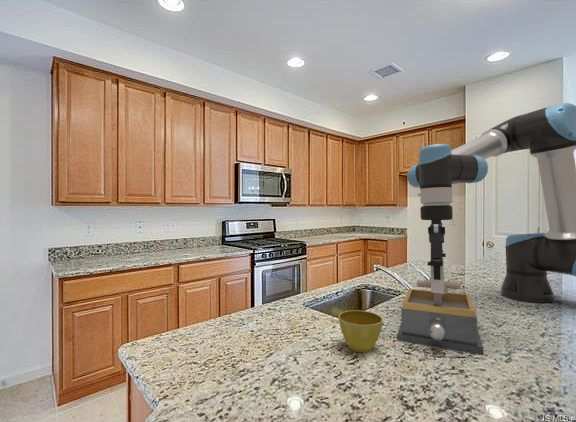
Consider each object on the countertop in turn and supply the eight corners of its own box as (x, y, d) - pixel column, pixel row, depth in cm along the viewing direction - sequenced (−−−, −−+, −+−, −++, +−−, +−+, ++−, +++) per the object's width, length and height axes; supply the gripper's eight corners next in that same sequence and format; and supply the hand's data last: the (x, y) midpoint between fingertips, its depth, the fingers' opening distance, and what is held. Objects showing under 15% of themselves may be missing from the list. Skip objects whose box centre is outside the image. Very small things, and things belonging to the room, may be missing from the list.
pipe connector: (466, 312, 73) (466, 271, 72) (421, 309, 75) (422, 269, 74) (452, 298, 82) (452, 262, 82) (413, 296, 84) (413, 261, 84)
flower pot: (391, 347, 71) (390, 316, 71) (369, 362, 64) (368, 328, 64) (354, 335, 78) (353, 307, 78) (330, 348, 71) (330, 317, 71)
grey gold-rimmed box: (475, 326, 82) (475, 293, 82) (485, 362, 63) (484, 319, 63) (405, 317, 91) (404, 287, 91) (394, 346, 71) (394, 308, 71)
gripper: (423, 205, 92) (424, 275, 91) (416, 204, 69) (418, 297, 69) (451, 205, 88) (453, 277, 88) (453, 203, 66) (456, 300, 66)
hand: (438, 286), depth 79 cm, fingers open, 13 cm apart
